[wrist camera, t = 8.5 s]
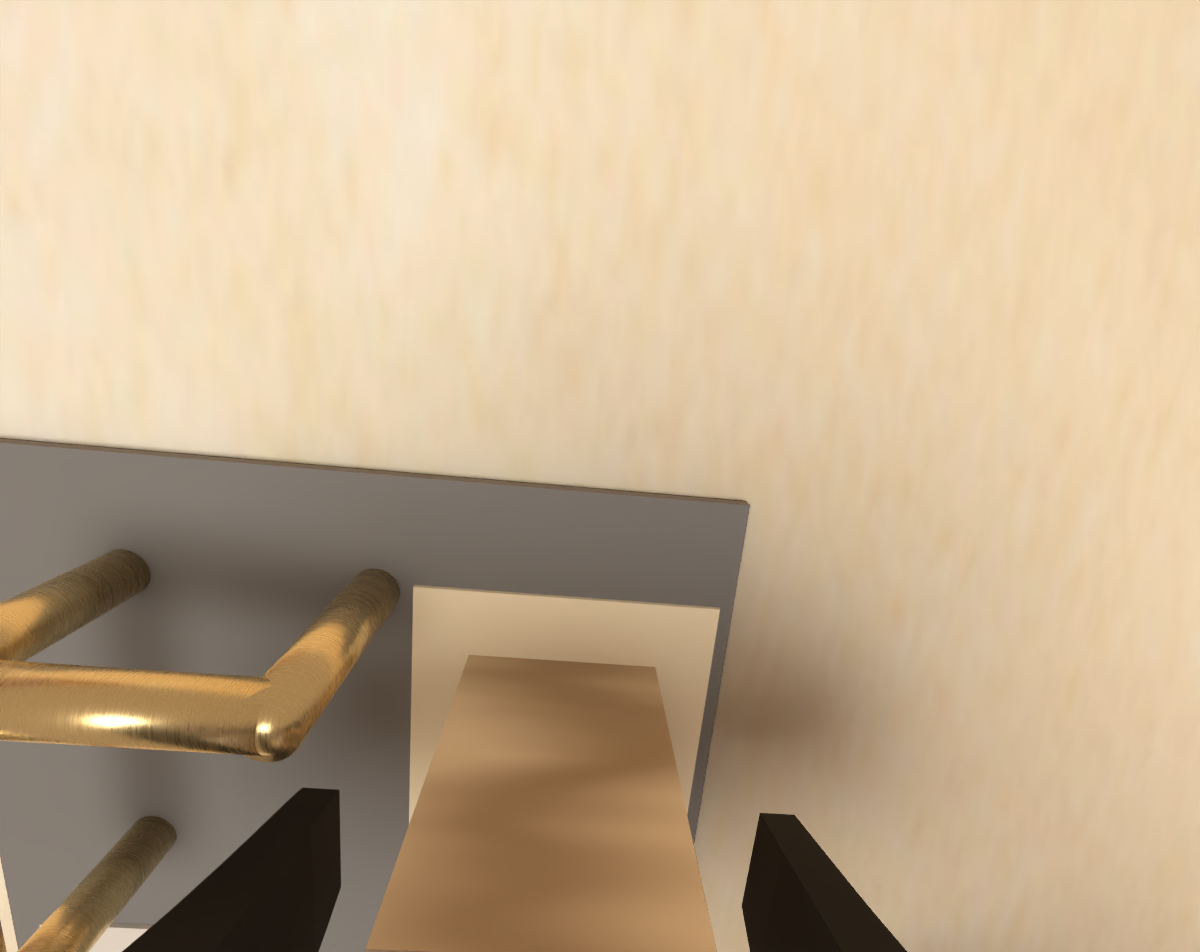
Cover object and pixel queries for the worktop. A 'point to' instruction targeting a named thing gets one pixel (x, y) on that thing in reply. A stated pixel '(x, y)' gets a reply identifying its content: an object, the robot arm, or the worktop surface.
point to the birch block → (548, 821)
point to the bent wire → (160, 709)
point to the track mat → (291, 604)
